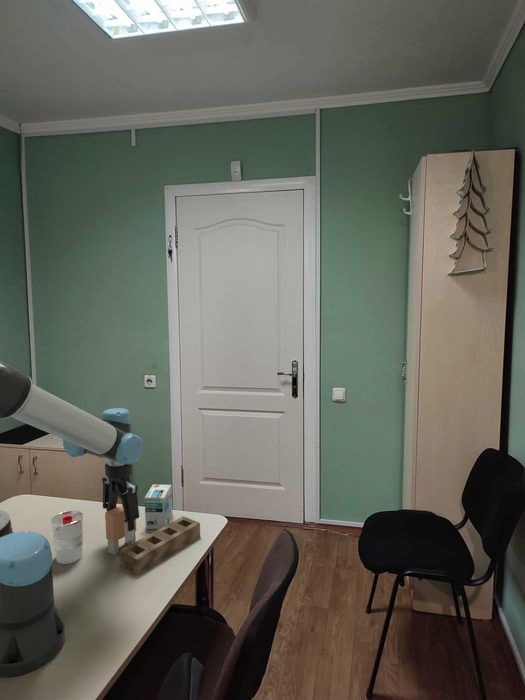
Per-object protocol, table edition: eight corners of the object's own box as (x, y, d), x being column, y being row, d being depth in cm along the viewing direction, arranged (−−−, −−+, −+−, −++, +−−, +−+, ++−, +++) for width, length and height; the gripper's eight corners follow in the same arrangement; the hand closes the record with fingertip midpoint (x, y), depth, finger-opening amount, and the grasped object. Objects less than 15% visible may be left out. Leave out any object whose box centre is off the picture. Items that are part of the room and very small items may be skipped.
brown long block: (137, 575, 120) (136, 559, 119) (120, 565, 124) (119, 550, 124) (200, 536, 139) (199, 522, 139) (183, 529, 143) (183, 516, 143)
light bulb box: (165, 529, 143) (164, 497, 142) (144, 529, 143) (143, 497, 142) (173, 513, 154) (172, 483, 153) (153, 513, 154) (152, 483, 153)
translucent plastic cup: (72, 569, 123) (69, 527, 121) (44, 565, 124) (42, 524, 123) (92, 549, 132) (90, 510, 131) (67, 546, 134) (65, 508, 133)
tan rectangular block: (114, 555, 129) (112, 515, 128) (106, 551, 131) (105, 512, 130) (136, 543, 136) (135, 505, 134) (129, 539, 138) (128, 502, 136)
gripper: (151, 465, 127) (153, 541, 130) (109, 451, 139) (112, 521, 142) (129, 473, 121) (132, 552, 124) (87, 458, 133) (90, 531, 136)
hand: (121, 536), depth 133 cm, fingers open, 7 cm apart
